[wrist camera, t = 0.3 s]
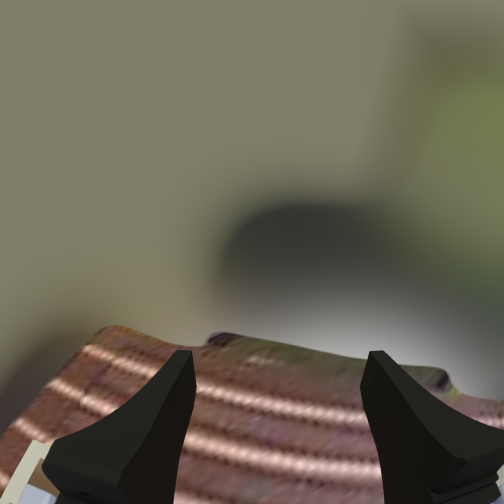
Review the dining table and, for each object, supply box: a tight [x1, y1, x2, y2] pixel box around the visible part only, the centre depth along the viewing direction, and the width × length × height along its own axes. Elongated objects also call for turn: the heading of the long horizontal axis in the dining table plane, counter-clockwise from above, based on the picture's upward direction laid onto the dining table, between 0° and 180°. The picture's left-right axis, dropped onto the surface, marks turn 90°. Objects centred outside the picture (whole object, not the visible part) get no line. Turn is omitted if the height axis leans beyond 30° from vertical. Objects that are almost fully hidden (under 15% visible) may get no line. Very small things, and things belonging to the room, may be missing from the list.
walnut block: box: [19, 458, 60, 499], centre depth 17 cm, size 5×5×4 cm
